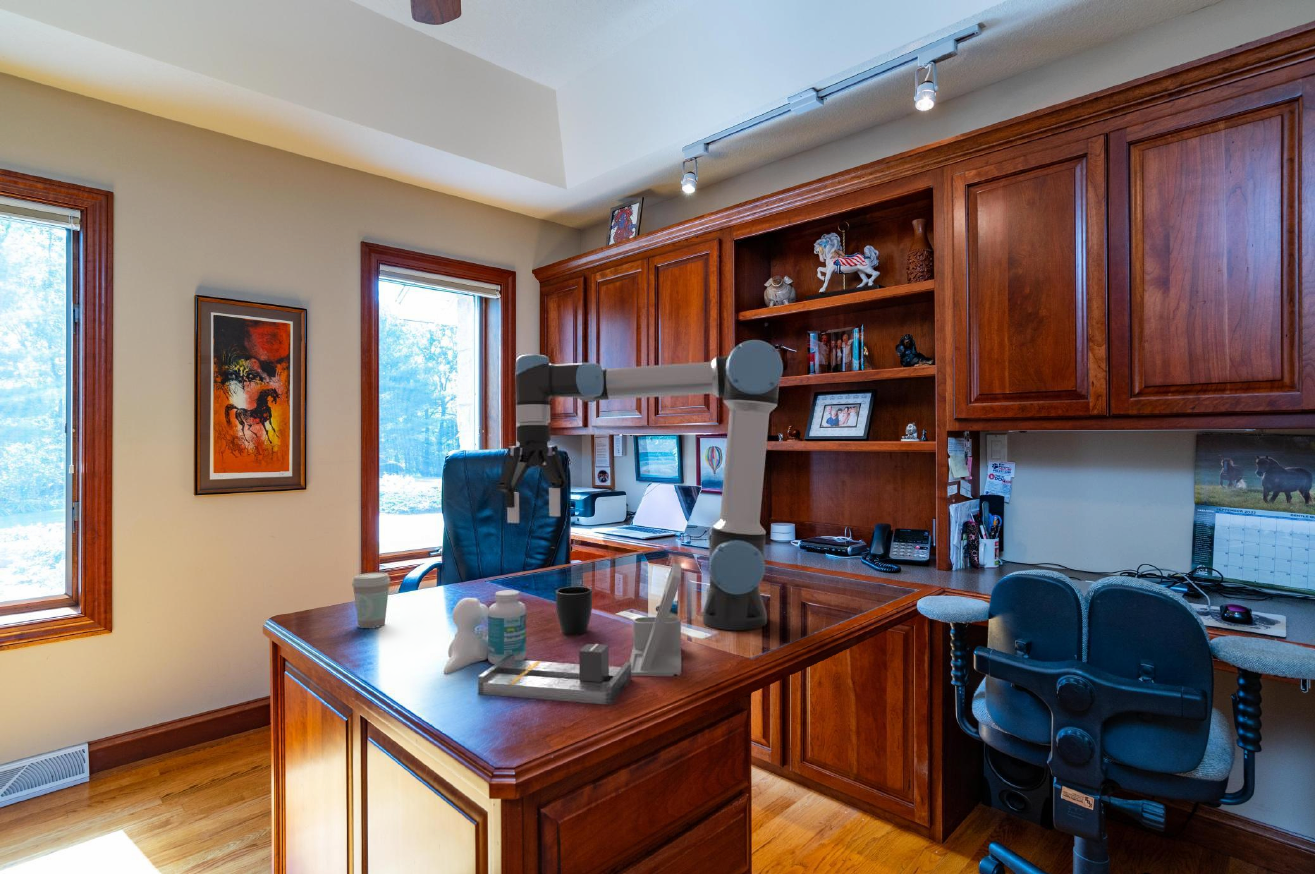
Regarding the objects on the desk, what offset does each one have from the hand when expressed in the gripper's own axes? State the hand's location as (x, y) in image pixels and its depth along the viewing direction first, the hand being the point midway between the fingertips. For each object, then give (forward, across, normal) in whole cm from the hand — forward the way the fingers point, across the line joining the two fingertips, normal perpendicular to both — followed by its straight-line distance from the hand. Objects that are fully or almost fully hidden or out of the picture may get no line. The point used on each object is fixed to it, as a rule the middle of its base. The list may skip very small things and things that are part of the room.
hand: (534, 519), depth 144 cm
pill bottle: (+26, +15, +6) cm, 31 cm away
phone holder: (+27, 0, +32) cm, 41 cm away
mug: (+26, -9, +4) cm, 28 cm away
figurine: (+26, +18, -2) cm, 32 cm away
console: (+26, +21, +24) cm, 41 cm away
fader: (+25, +19, +30) cm, 43 cm away
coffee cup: (+26, +12, -41) cm, 50 cm away
